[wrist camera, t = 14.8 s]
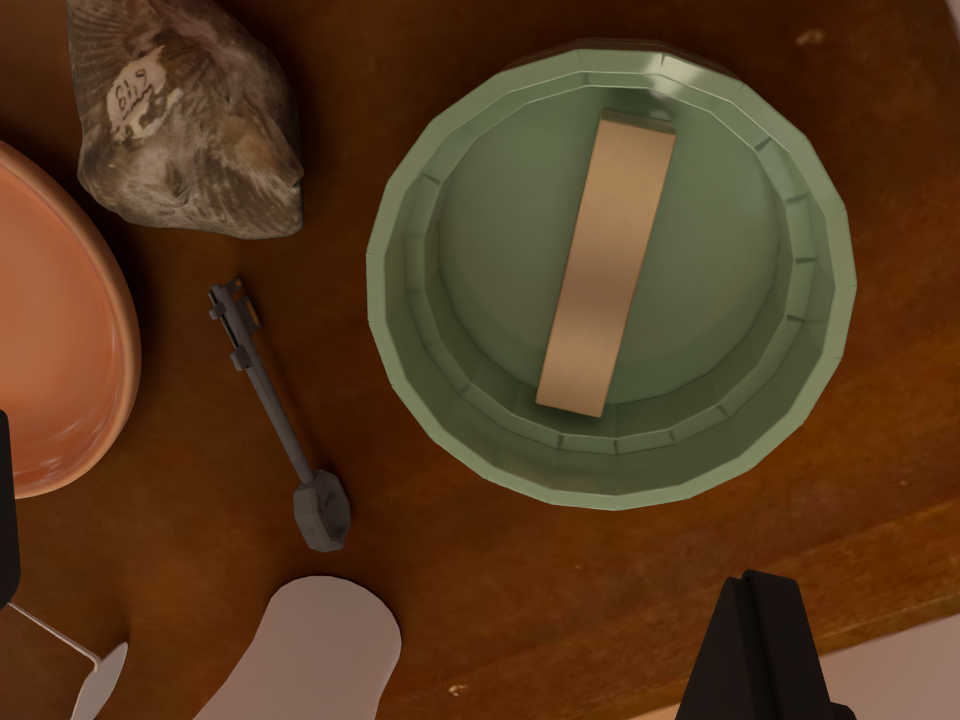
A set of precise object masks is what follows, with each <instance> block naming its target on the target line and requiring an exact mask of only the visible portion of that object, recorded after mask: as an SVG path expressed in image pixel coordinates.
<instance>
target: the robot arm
mask: <svg viewBox="0 0 960 720" xmlns="http://www.w3.org/2000/svg"><path fill="white" fill-rule="evenodd" d="M20 576H21V568H20V556H19V543H18V531H17V518H16V506H15V493H14V481H13V469H12V456H11V444H10V431H9V421H8V416H7V414H6V413H5V411H3V410H1V409H0V610H1V609H2V608H3V607H4V606H5V605H6V604H7V603H8V602H9V601H10V600H11V598H12V597H13V595H14V594H15V592H16V590H17V587H18V585H19V581H20ZM675 720H857V719H856V717H855V715H854V712H853V711H852V710H851V709H850V708H849V707H848V706H846V705H841V704H837V703H833V702H830V698H829V695H828V691H827V687H826V684H825V680H824V677H823V673H822V669H821V666H820V662H819V659H818V655H817V651H816V648H815V644H814V641H813V637H812V633H811V630H810V626H809V623H808V619H807V615H806V612H805V608H804V604H803V601H802V597H801V594H800V590H799V587H798V584H797V582H796V581H795V580H793V579H790V578H786V577H781V576H777V575H773V574H768V573H764V572H760V571H755V570H751V569H748V570H746V571H745V572H744V574H743V575H742V577H741V579H737V578H732V577H729V578H727V579H726V581H725V583H724V585H723V588H722V590H721V593H720V596H719V599H718V601H717V604H716V607H715V610H714V613H713V615H712V618H711V621H710V624H709V626H708V629H707V632H706V635H705V637H704V640H703V643H702V646H701V649H700V651H699V654H698V657H697V660H696V662H695V665H694V668H693V671H692V673H691V676H690V679H689V682H688V685H687V687H686V690H685V693H684V696H683V698H682V701H681V704H680V707H679V710H678V712H677V715H676V718H675Z"/></svg>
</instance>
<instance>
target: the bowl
mask: <svg viewBox="0 0 960 720" xmlns="http://www.w3.org/2000/svg"><path fill="white" fill-rule="evenodd" d="M602 109H609V110H614V111H619V112H623V113H628V114H633V115H638V116H643V117H648V118H653V119H657V120H662V121H667V122H671V123H673V125H674V128H675V131H676V134H677V138H676V142H675V146H674V150H673V153H672V157H671V161H670V164H669V168H668V172H667V176H666V179H665V183H664V187H663V190H662V194H661V198H660V201H659V205H658V209H657V213H656V216H655V220H654V224H653V227H652V231H651V235H650V238H649V242H648V246H647V250H646V253H645V257H644V261H643V264H642V268H641V272H640V276H639V279H638V283H637V287H636V290H635V294H634V298H633V301H632V305H631V309H630V313H629V316H628V320H627V324H626V327H625V331H624V335H623V338H622V342H621V346H620V350H619V353H618V357H617V361H616V364H615V368H614V372H613V376H612V379H611V383H610V387H609V390H608V394H607V398H606V401H605V405H604V409H603V413H602V416H601V417H600V418H597V417H593V416H588V415H584V414H580V413H575V412H571V411H567V410H562V409H558V408H554V407H549V406H545V405H541V404H537V403H535V397H536V393H537V388H538V383H539V378H540V374H541V369H542V365H543V361H544V356H545V352H546V348H547V343H548V339H549V335H550V330H551V326H552V322H553V317H554V313H555V309H556V304H557V300H558V296H559V291H560V287H561V283H562V278H563V274H564V270H565V265H566V261H567V257H568V252H569V248H570V244H571V239H572V235H573V231H574V226H575V222H576V218H577V213H578V209H579V205H580V200H581V196H582V192H583V187H584V183H585V179H586V174H587V170H588V166H589V161H590V157H591V153H592V148H593V144H594V140H595V135H596V131H597V127H598V122H599V118H600V114H601V110H602ZM366 251H367V252H366V278H367V310H368V321H369V326H370V329H371V331H372V334H373V337H374V340H375V342H376V345H377V348H378V351H379V354H380V356H381V359H382V362H383V365H384V368H385V370H386V373H387V376H388V379H389V381H390V384H391V385H392V388H393V389H394V390H395V392H396V393H397V394H398V396H399V397H400V398H401V400H402V401H403V402H404V404H405V405H406V406H407V408H408V409H409V410H410V412H411V413H412V414H413V416H414V417H415V418H416V420H417V421H418V422H419V424H420V425H421V426H422V428H423V429H424V430H425V432H426V433H427V434H428V436H429V437H430V438H432V440H433V441H434V442H436V443H437V444H438V445H440V446H441V447H442V448H444V449H445V450H446V451H448V452H449V453H450V454H452V455H453V456H454V457H456V458H457V459H458V460H460V461H461V462H462V463H464V464H465V465H466V466H468V467H469V468H470V469H472V470H473V471H475V472H476V473H477V474H479V475H480V476H481V477H483V478H484V479H487V480H488V481H491V482H493V483H496V484H499V485H501V486H504V487H506V488H509V489H512V490H514V491H517V492H519V493H522V494H525V495H527V496H530V497H532V498H535V499H538V500H540V501H543V502H545V503H549V504H554V505H564V506H573V507H583V508H593V509H603V510H613V511H617V509H618V510H625V509H631V508H638V507H644V506H650V505H656V504H662V503H668V502H674V501H680V500H685V499H689V498H691V497H693V496H695V495H697V494H700V493H702V492H704V491H706V490H708V489H710V488H712V487H715V486H717V485H719V484H721V483H723V482H725V481H727V480H730V479H732V478H734V477H736V476H738V475H740V474H742V473H744V472H747V471H749V470H750V468H753V467H754V466H755V465H756V464H757V463H759V462H760V461H761V460H762V459H763V458H764V457H765V456H766V455H768V454H769V453H770V452H771V451H772V450H773V449H774V448H776V447H777V446H778V445H779V444H780V443H781V442H782V441H783V440H785V439H786V438H787V437H788V436H789V435H790V434H791V433H792V432H794V431H795V430H796V429H797V428H798V427H799V426H800V425H801V424H803V422H804V420H806V418H807V417H808V415H809V413H810V412H811V410H812V408H813V407H814V405H815V403H816V402H817V400H818V398H819V396H820V395H821V393H822V391H823V390H824V388H825V386H826V385H827V383H828V381H829V380H830V378H831V376H832V375H833V373H834V371H835V370H836V368H837V366H838V365H839V363H840V361H841V358H842V356H843V353H844V348H845V343H846V338H847V333H848V328H849V324H850V319H851V314H852V309H853V304H854V300H855V295H856V290H857V285H856V284H857V277H856V270H855V263H854V256H853V249H852V242H851V235H850V229H849V222H848V215H847V210H846V209H845V204H844V202H843V201H842V199H841V197H840V195H839V193H838V191H837V190H836V188H835V186H834V184H833V182H832V181H831V179H830V177H829V175H828V173H827V171H826V170H825V168H824V166H823V164H822V162H821V161H820V159H819V157H818V155H817V153H816V151H815V150H814V148H813V146H812V144H811V142H810V140H809V139H808V138H807V137H806V135H805V134H803V133H802V132H801V131H800V130H799V129H798V128H796V127H795V126H794V125H793V124H792V123H791V122H789V121H788V120H787V119H786V118H785V117H784V116H783V115H781V114H780V113H779V112H778V111H777V110H776V109H774V108H773V107H772V106H771V105H770V104H769V103H768V102H766V101H765V100H764V99H763V98H762V97H761V96H759V95H758V94H757V93H756V92H755V91H754V90H753V89H751V88H750V87H749V86H748V85H747V84H746V83H744V82H743V81H742V80H741V79H740V78H738V77H737V76H736V75H735V74H734V73H732V72H731V71H730V70H729V69H728V68H726V67H725V66H723V65H722V64H720V63H717V62H715V61H712V60H709V59H707V58H704V57H702V56H699V55H696V54H694V53H691V52H689V51H686V50H684V49H681V48H678V47H676V46H673V45H671V44H668V43H665V42H663V41H660V40H655V39H631V38H602V37H587V38H581V39H577V40H574V41H571V42H568V43H564V44H561V45H558V46H554V47H551V48H548V49H545V50H541V51H538V52H535V53H531V54H528V55H525V56H522V57H519V58H517V59H516V60H514V61H513V62H511V63H510V64H509V65H507V66H506V67H504V68H503V69H502V70H500V71H499V72H497V73H496V74H495V75H493V76H492V77H490V78H489V79H488V80H486V81H485V82H483V83H482V84H481V85H479V86H478V87H476V88H475V89H474V90H472V91H471V92H469V93H468V94H467V95H465V96H464V97H462V98H461V99H460V100H458V101H457V102H455V103H454V104H453V105H451V106H450V107H448V108H447V109H446V110H444V111H443V112H442V113H440V114H439V115H437V116H436V117H435V118H433V119H432V121H430V122H429V124H428V125H427V127H426V128H425V129H424V131H423V132H422V134H421V135H420V136H419V138H418V139H417V141H416V142H415V143H414V145H413V146H412V147H411V149H410V150H409V152H408V153H407V154H406V156H405V157H404V159H403V160H402V161H401V163H400V164H399V166H398V167H397V168H396V170H395V171H394V173H393V174H392V175H391V177H390V178H389V179H388V183H387V184H386V186H385V189H384V193H383V196H382V199H381V203H380V206H379V209H378V213H377V216H376V219H375V222H374V226H373V229H372V232H371V236H370V239H369V242H368V246H367V249H366Z"/></svg>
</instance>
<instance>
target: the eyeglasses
mask: <svg viewBox="0 0 960 720" xmlns="http://www.w3.org/2000/svg"><path fill="white" fill-rule="evenodd" d="M7 604H8V605H11V606H12V607H14V608H15V609H17V610H18V611H20V612H21V613H23V614H24V615H26V616H27V617H29V618H30V619H32V620H33V621H35V622H36V623H38V624H39V625H41V626H42V627H44V628H45V629H47V630H48V631H50V632H51V633H53V634H54V635H56V636H57V637H59V638H60V639H62V640H63V641H65V642H66V643H68V644H69V645H71V646H72V647H73V648H75V649H76V650H78V651H79V652H81V653H82V654H84V655H85V656H87V657H88V658H90V659H91V660H92V661H94V663H95V668H94V669H93V670H92V671H91V673H90V674H89V675H88V677H87V678H86V680H85V682H84V684H83V686H82V688H81V691H80V693H79V696H78V699H77V702H76V705H75V708H74V711H73V714H72V717H71V719H70V720H93V719H94V718H95V717H96V715H97V714H98V713H99V711H100V710H101V708H102V707H103V705H104V704H105V703H106V701H107V699H108V698H109V696H110V695H111V693H112V691H113V689H114V687H115V684H116V682H117V680H118V677H119V675H120V672H121V670H122V667H123V664H124V661H125V657H126V653H127V649H128V644H127V642H122V643H121V644H119V645H118V646H117V647H116V648H115V649H113V650H112V651H111V652H110V653H109V654H108V655H107V656H106V657H105V658H104V659H103V660H102V661H101V659H100V658H99V657H98V656H97V655H95V654H94V653H92V652H90V651H89V650H87V649H86V648H84V647H82V646H81V645H79V644H78V643H76V642H74V641H73V640H71V639H70V638H68V637H66V636H65V635H63V634H62V633H60V632H58V631H57V630H55V629H54V628H52V627H50V626H49V625H47V624H46V623H44V622H42V621H41V620H39V619H37V618H36V617H34V616H33V615H31V614H29V613H28V612H26V611H25V610H23V609H21V608H20V607H18V606H17V605H15V604H13V603H12V602H11V601H9V602H8V603H7Z"/></svg>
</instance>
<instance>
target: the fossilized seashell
mask: <svg viewBox="0 0 960 720" xmlns="http://www.w3.org/2000/svg"><path fill="white" fill-rule="evenodd" d="M65 2H66V22H67V24H66V26H67V38H68V47H69V55H70V68H71V75H72V82H73V89H74V95H75V100H76V105H77V110H78V115H79V117H80V120H81V124H82V130H83V131H82V136H83V140H82V145H81V150H80V155H79V159H78V172H77V177H78V179H79V181H80V184H81V185H82V186H83V187H84V189H85V190H86V191H87V192H89V193H90V194H91V195H92V196H93V197H94V199H95V200H96V201H97V202H98V203H99V204H101V205H102V206H103V207H105V208H106V209H108V210H109V211H113V212H116V213H118V214H119V215H120V216H121V217H122V218H123V219H124V220H125V221H127V222H128V223H135V224H139V225H143V226H149V227H155V228H170V227H174V228H179V229H191V230H200V231H208V232H211V233H220V234H226V235H230V236H233V237H236V238H239V239H255V240H261V239H272V238H284V237H287V236H289V235H294V234H295V233H297V232H298V231H300V230H301V228H302V227H303V226H304V216H303V187H302V181H301V178H302V177H303V176H304V169H303V167H302V162H303V159H302V150H301V135H300V129H299V115H298V112H297V102H296V98H295V94H294V91H293V89H292V87H291V85H290V83H289V81H288V79H287V77H286V74H285V72H284V71H283V69H282V68H281V66H280V64H279V63H278V61H277V60H276V58H275V56H274V55H273V54H272V53H271V52H270V51H269V50H268V48H267V47H266V46H265V45H264V44H263V43H261V42H260V41H258V40H257V39H255V38H254V37H253V36H252V35H251V34H250V33H249V32H248V30H247V29H246V27H245V26H244V25H243V23H241V22H240V21H239V20H238V19H237V18H235V17H234V16H233V15H231V14H230V13H229V12H227V10H225V9H224V8H223V7H222V6H220V5H219V4H218V3H216V2H215V1H214V0H65Z"/></svg>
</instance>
